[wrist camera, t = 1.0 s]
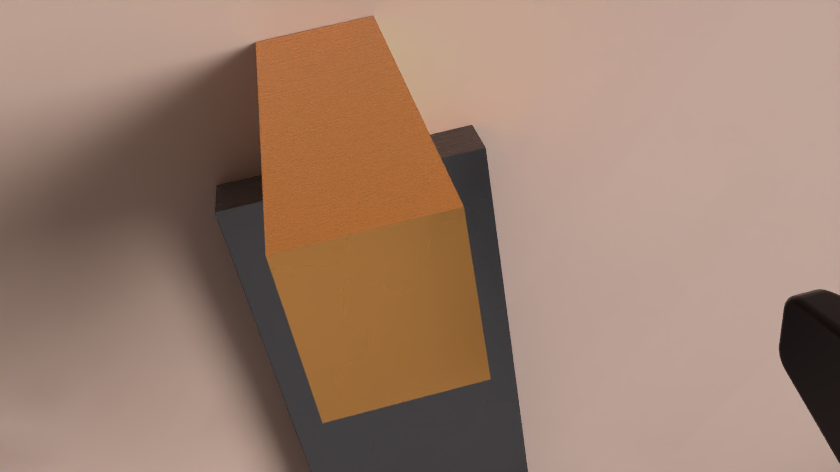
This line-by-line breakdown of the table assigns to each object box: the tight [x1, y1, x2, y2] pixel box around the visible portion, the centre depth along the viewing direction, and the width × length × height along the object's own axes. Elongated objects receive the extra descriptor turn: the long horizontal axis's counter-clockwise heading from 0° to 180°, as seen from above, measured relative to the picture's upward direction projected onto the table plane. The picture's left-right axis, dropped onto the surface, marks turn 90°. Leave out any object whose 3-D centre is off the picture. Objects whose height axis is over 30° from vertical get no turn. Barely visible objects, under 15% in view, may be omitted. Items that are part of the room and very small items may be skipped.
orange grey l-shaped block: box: [215, 16, 528, 472], centre depth 17 cm, size 16×6×8 cm, turn 10°
